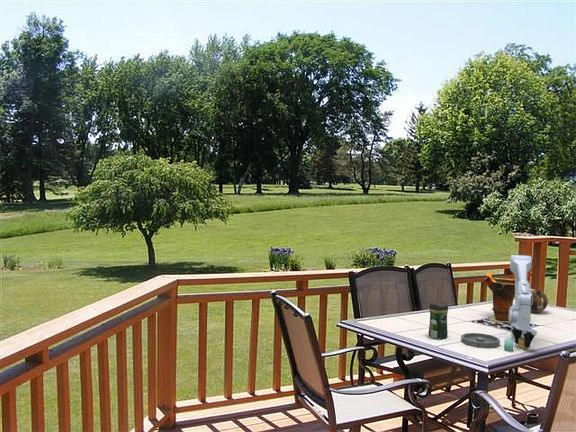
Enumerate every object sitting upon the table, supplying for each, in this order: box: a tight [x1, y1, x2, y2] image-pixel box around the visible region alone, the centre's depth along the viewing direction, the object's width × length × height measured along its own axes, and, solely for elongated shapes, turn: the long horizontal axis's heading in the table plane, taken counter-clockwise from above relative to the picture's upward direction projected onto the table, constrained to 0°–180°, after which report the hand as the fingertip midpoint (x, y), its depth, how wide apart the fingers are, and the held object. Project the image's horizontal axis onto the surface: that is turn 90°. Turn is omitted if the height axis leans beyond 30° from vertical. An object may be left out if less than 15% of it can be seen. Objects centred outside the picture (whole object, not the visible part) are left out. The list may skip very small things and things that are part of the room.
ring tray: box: [460, 332, 501, 349], centre depth 269 cm, size 18×18×2 cm
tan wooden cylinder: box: [517, 338, 528, 351], centre depth 261 cm, size 4×4×5 cm
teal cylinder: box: [503, 338, 514, 353], centre depth 257 cm, size 4×4×5 cm
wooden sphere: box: [530, 288, 549, 314], centre depth 340 cm, size 15×15×15 cm
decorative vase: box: [483, 271, 515, 324], centre depth 318 cm, size 21×23×28 cm
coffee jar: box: [428, 300, 449, 340], centre depth 278 cm, size 10×8×19 cm
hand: (522, 345), depth 261 cm, fingers open, 5 cm apart
